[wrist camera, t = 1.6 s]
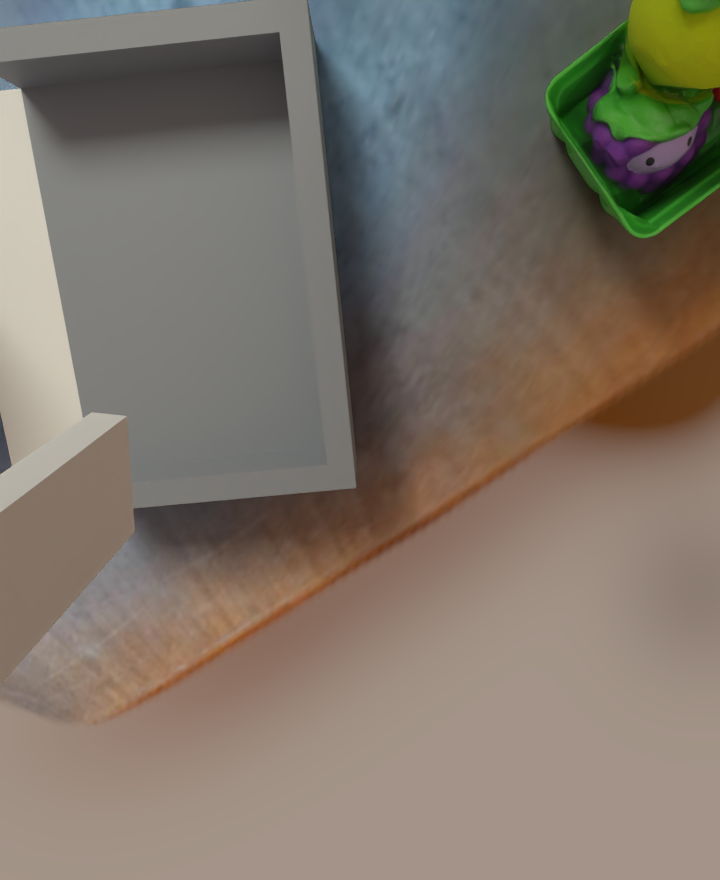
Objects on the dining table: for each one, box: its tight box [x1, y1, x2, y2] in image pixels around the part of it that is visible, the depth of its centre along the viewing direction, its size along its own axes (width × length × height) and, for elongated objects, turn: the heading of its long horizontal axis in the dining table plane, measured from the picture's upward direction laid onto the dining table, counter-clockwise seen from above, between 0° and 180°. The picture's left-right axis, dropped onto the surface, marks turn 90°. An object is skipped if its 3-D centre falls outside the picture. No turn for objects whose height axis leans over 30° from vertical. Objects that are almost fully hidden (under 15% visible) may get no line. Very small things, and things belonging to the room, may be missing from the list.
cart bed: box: [0, 0, 357, 508], centre depth 32 cm, size 20×17×5 cm
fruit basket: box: [545, 0, 720, 238], centre depth 27 cm, size 11×9×11 cm
